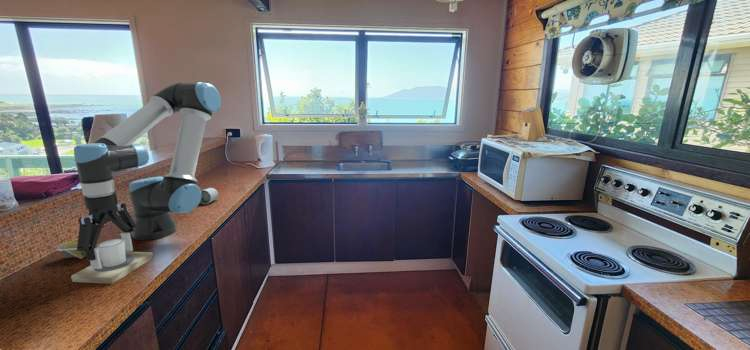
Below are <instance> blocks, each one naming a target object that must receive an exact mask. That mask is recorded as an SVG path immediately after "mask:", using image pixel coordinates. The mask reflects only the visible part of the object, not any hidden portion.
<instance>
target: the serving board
mask: <svg viewBox="0 0 750 350" xmlns="http://www.w3.org/2000/svg"><path fill="white" fill-rule="evenodd" d="M125 255H126V261H125V262H124V263H122V264H119V265H117V266H112V267H105V266H104V265H103V262H102V260H101V259H100V260H101V264H102V268H101V269H92V268H91V264H90V265H88V266H87V267H85V268H83V269H82V270H80V271H77V272H75V273H74V274H72V275H71V277H70V278H71V282H72V283H86V284H87V283H89V284H91V283H92V284H110V285H112V284H115V283H117V281H120V280H121V279H122V278H124V277H126V276H127V275H129V274H130V273H132V272H133V271H135V270H137V269H138V268H140V267H142V266H143V265H145V264H146V263H147V262H149V261H150V260H152V259H153V258H154V254H153V252H151V251H150V252H149V251H125Z"/></svg>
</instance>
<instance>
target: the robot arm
mask: <svg viewBox="0 0 750 350" xmlns="http://www.w3.org/2000/svg"><path fill="white" fill-rule="evenodd" d="M221 104H222V99H221V95H220V92H219V91H218V89H217V88H216V87H215V86H214V85H213V84H212V83H207V82H201V81H200V82H199V81H198V82H176V83H173V84H170V85H168V86H166V87H164V88H162V89H160V91H158V92H157V93H155V94H153V95H152V96H151V97H149V101H148V102H147V103H146V104H144V105H143V106H141V108H140V109H138V110H137V111H136V112H134V113H132V114H131V115H129V116H128V117H127V118H125V119H124V120H123V121H121V122H120V123H119V124H117V125H116V126H114V127H113V128H112V129H111V130H109V131H108V132H106V133H105V134H104V135H102V136H101V137H100V138H98V139H97V140H95V141H94V142H92V143H82V144H77V145H75V146H73V147H74V148H73V156H74V162H75V165H76V169H77V175H78V177H79V181H80V187H81V190H82V191H81V192H82V195H83V196H84V197H83V198H84V199H83V201H84V205H85V208H86V209H87V210H88V214H87V215H86V216H84V217H83V216H80V217H78V219H77V220H78V223H79V228H78V229H79V230H78V239H77V242H78V244H77V251H86V255H87V256H86V259H87V261H89V262H90V265H91V268H92V269H101V268H102V264H101V257H100V254H99V251H98V248H97V243H98V240H99V236H100V234H101V231H102V229H103V228H104V226H105V225H106V224H108V223H110V222H112V223H113V224H114V225H115V226H116V227H117V228H118V229H120V230H121V232H120V239H124V242H125V251H129V252H134V247H133V241H132V240H133V239H134V240H135V241H137V240H138V241H150V240H156V239H161V238H164V237H166V236H169V235H172V234H173V233H175V231H177V229H178V228H177V223H176V222H175V220H174V218H173V216H172V215H171V213H173V214H186V213H191V212H192V211H194V209H196V208H197V207H198V206H199V204H200V200H201V187H199V186H198V180H197V179H196V176H195V174H196V171H197V165H198V161H199V157H200V153H201V152H200V151H201V147H202V143H203V138H204V134H205V130H206V125H207V121H209V120H211V119H212V116H213V113H215V112H217V111H218V110H220V108H221V106H222V105H221ZM176 113H181V115H182V117H181V121H180V126H179V129H178V130H179V131H178V134H177V135H178V136H177V139H176V143H175V147H174V153H173V156H172V161H171V164H170V167H169V168H170V169H169V173H166V174H165V175H163V176H152V177H147V178H141V179H137V180H134V181H132V182H130V183H129V185H128V188H129V190H128V191H129V196H130V201H131V205H132V210H133V215H134V216H133V217H134V220H133V217H132V216H131V215H130V212H129V211H128V209H127V204H126V203H121V202H120V203H119V202H118V196H117V193H116V187H115V181H114V176H113V173H114V172H118V171H124V170H130V169H135V168H139V167H143V166H145V165H147V164H148V163H149V161H150V155H149V152H148V150H147V149H146V147H145V146H143V145H141V144H133V143H135V142H136V141H138V139H140V138H141V137H142V136H144V135H145V134H146V133H148V132H149V131H150V130H151V129H153V127H154V126H156V125H157V124H158V123H159V124H160V122H162V120H164V119H165V118H167V117H172V116H173V115H175V114H176Z"/></svg>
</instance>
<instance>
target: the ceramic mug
mask: <svg viewBox="0 0 750 350" xmlns="http://www.w3.org/2000/svg"><path fill="white" fill-rule="evenodd" d="M200 191H201V200H200V202H199V204H202V205H208V204H210V203H212V202H214V201H215V200H216V199H218V197H219V193H218V190H217V189H216V188H214V187H208V188H206V189H200Z"/></svg>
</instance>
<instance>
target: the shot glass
mask: <svg viewBox="0 0 750 350" xmlns="http://www.w3.org/2000/svg"><path fill="white" fill-rule="evenodd" d="M96 248H98V251H99V255H100V260H102V262H103V265H104V266H105V267H112V266H117V265H119V264H122V263H124V262H125V261H126V255H125V242H124V239H121V237H120V238H119V237H118V238H112V239H107V240H104V241H102V242H100V243H98V244H96Z"/></svg>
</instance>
